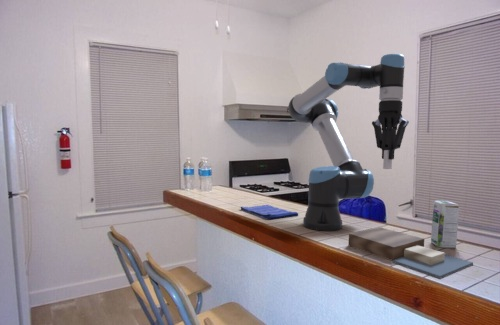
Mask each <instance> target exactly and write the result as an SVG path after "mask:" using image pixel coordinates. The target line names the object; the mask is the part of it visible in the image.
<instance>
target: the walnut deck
mask: <svg viewBox="0 0 500 325" xmlns="http://www.w3.org/2000/svg"><path fill="white" fill-rule="evenodd" d="M416 245H419V246H422V247H425V238H424V237H419V236H415V235H411V234H408V233H404V232H400V231H396V230H392V229H388V228H383V227H380V226H378V227H373V228H368V229H365V230H359V231H355V232H349V233H348V247H350V248H355V249H358V250H360V251H363V252H366V253H369V254H372V255H374V256H377V257H381V258H384V259H386V260H389V261H392V262H393V260H395V259H398V258H401V257H404V249H406V248H409V247H413V246H416Z"/></svg>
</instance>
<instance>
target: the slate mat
mask: <svg viewBox="0 0 500 325" xmlns="http://www.w3.org/2000/svg"><path fill="white" fill-rule="evenodd" d="M392 263H395V264H397V265H400V266H403V267H405V268H409V269H411V270H415V271H416V272H421V273H423V274H427V275H430V276H432V277H435V278H438V279H441V278H445V277H446V276H449V275H451V274H453V273H456V272H458V271H460V270H464V269H465V268H469V267H470V266H473V265H474V262H473V261H469V260H466V259H463V258H460V257H459V258H458V257H455V256H452V255H447V254H445V257H444V261H441V262H438V263H436V264H433V265H429V264H426V263H423V262H420V261H417V260H414V259H411V258H407V257H401V258H398V259H395V260H393V261H392Z"/></svg>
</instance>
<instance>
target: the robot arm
mask: <svg viewBox="0 0 500 325" xmlns="http://www.w3.org/2000/svg"><path fill="white" fill-rule="evenodd" d="M405 67H406V66H405V56H404V55H403V54H401V53H388V54H384V55H382V57H381V58H380V62H379V64H377V65H363V64H354V63H347V62H346V63H344V62H331V63H329V64H328V65H327V68H326V70H325V74H324V75H323V76H322V77H321V78H319V79H318V80H317V81H316V82H315V83H313V84H312V85H311V86H310V87H308V88H307V89H306V90H304V91H303V92H302V93H297V94H296V95H295V96H293V97H292V98H291V100H290V101H289V103H288V107H287V109H288V113H289V114H288V115H289V116H290V117H291V118H292V119H293V120H294V121H296V122H299V123H302V124H303V123H304V124H305V123H306V124H311V127H312V128H313V130H315V131H318V134H319V136H320V139H321V141H322V142H323V146H324V147H325V150H326V151H327V154H328V156H329V158H330V161H331V163H332V165H330V166H319V167H315V168H312V169H311V170H310V171H309V173H308V174H309V176H308V203H307V205H308V206H307V209H306V211H305V216H304V217H303V220H302V223H303V224H302V225H303V227H305V228H307V229H312V230H314V231H324V232H325V231H326V232H329V231H330V232H331V231H334V232H335V231H339V230H342V228H343V220H342V217H341V212H340V209H339V205H340V204H339V200H347V199H348V200H350V199H363V198H367V197H369V195H371V194H372V192H373V190H374V184H375V179H374V175H373V173H372V171H370V170H369V169H367V168H363V167H362V165H361V163H360V162H359V161H358V160H355V159H354V157H353V156H352V154H351V151H350V150H349V148H348V145H347V143H346V142H345V139H344V137H343V135H342V133H341V131H340V129H339V128H338V125H337V119H338V117H339V116H338V115H339V112H338V111H339V109H338V104H336V102H335V101H334V100H332V99H328V98H329V97H330V96H332V95H333V94H335V93H337V91H340V90H341V89H343V88H344V87H346V86H348V87H350V86H351V87H352V86H353V87H359V88H361V89H363V90H364V89H365V90H366V89H372V88H376V87H379V95H378V97H379V98H378V99H379V102H378V116H377V119H376V120H374V121H371V125H372V126H373V128H374V136H375V142H376V147H377V148H378V149H380V150H381V159H382V160H383V164H382V166H383V167H382V169H384V170H391V169H392V167H393V166H392V165H393V160H394V159H395V151H396V150H398V149H400V148H401V145H402V142H403V139H404V134H405V131H406V128H407V126H408V125H409V123H410V122H409V120H406V119H404V118H403V115H402V111H403V101H402V100H403V99H404V98H403V97H404V96H403V95H404V80H405V79H404V76H405Z"/></svg>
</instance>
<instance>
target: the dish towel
mask: <svg viewBox="0 0 500 325" xmlns="http://www.w3.org/2000/svg"><path fill="white" fill-rule="evenodd" d="M240 211H242V212H246V213H249V214H251V215H253V216H255V217H258V218H262V219H264V220H277V219H283V218H291V217H292V218H293V217H298V216H299V213H298V212H296V211H290V210H286V209H283V208H279V207H275V206H272V205H270V204H263V205H254V206H240Z"/></svg>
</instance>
